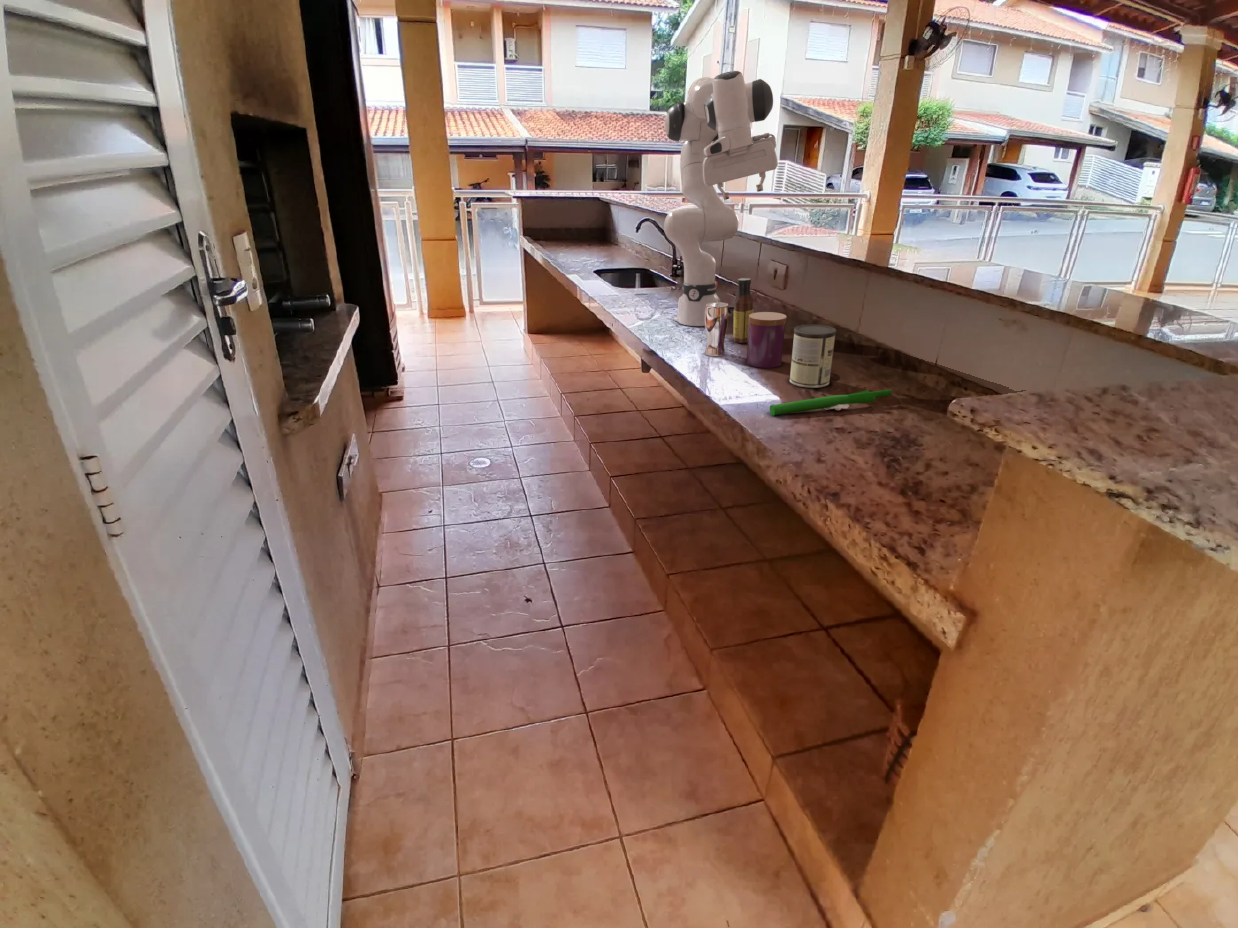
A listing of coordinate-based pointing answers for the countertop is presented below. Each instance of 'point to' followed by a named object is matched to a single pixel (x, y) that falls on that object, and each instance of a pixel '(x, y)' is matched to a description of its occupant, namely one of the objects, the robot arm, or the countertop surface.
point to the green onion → (828, 402)
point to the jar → (765, 339)
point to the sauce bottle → (742, 311)
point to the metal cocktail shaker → (716, 328)
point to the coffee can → (812, 355)
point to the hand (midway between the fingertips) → (743, 195)
